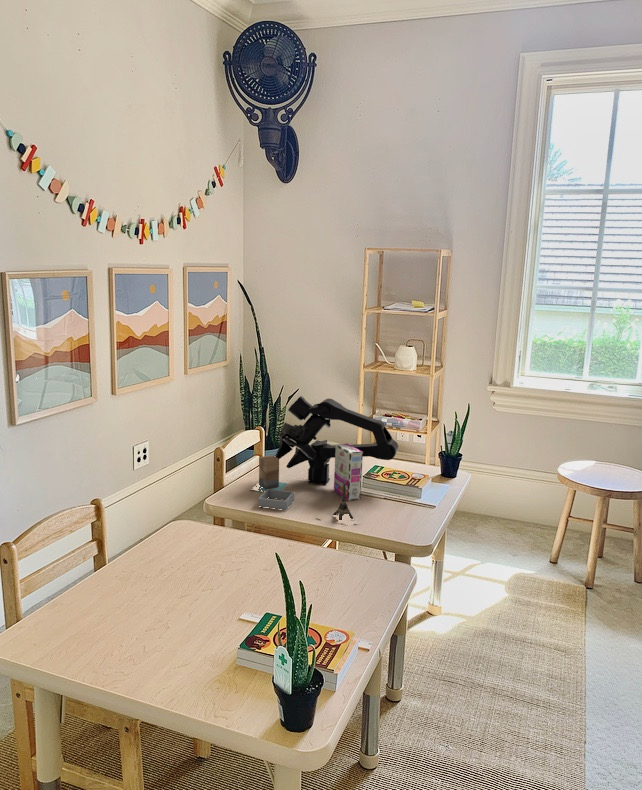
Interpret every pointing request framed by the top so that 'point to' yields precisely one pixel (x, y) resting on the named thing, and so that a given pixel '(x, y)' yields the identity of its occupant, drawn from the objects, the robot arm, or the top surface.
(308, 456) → the robot arm
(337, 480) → the candy bar box
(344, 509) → the eiffel tower figurine
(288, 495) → the crate
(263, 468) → the block
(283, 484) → the mat
